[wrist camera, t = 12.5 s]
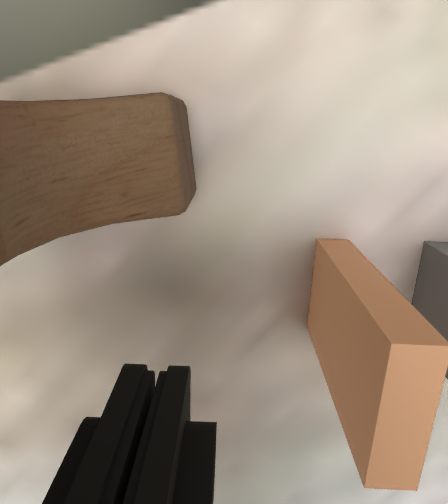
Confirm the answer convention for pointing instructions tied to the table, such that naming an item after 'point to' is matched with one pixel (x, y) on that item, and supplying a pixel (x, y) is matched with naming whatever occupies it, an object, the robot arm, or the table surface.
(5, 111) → the wooden block
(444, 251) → the domino
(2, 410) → the table surface
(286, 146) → the table surface
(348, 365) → the domino
